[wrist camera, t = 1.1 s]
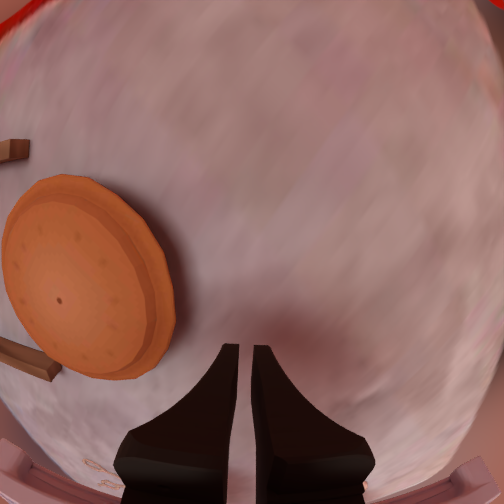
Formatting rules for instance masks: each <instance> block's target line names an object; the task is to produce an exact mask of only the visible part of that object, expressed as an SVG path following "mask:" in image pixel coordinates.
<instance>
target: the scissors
mask: <svg viewBox="0 0 504 504" xmlns="http://www.w3.org/2000/svg"><path fill="white" fill-rule="evenodd" d="M82 461H83V463H84V464H86V465H87V466H88V467H90V468H92V469H94V470H96V471H98V472H105V473H108V474H111V475H113V476H115V477H117V478H119V479H121V478H120V477H119V476H118V475H116V474H115V473H112V472H109V471H107V470H105V469H104V468H103V467H101V466H100V465H98V464H97V463H95V462H93V461H91V460H88V459H83V460H82ZM86 461H88V462H91V463H93V464H95V465H96V466H98V467H99V468H100V469H97V468H95V467H92V466H90V465H89V464H87V463H86ZM104 482H105V483H109V484H112V485H114V486H115V487H111V486H108V485H107V484H105V483H104ZM101 483H102V484H99V483H98V485H99V486H106V487H109V488H111V489H115V490H118V489H119V488H120V487H124V488H125V485H119V484H115V483H112V482H110V481H108V480H102V481H101Z"/></svg>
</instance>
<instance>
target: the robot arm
mask: <svg viewBox="0 0 504 504" xmlns="http://www.w3.org/2000/svg"><path fill="white" fill-rule="evenodd" d="M238 360H239V344H227V343H225V344H223V345H222V348H221V350H220V352H219V354H218V356H217V357H216V359H215V361H214V362H213V364H212V365H211V366H210V368H209V369H208V371H207V372H206V373H205V375H204V376H203V377H202V378H201V380H200V381H199V382H198V383H197V384H196V385H195V386H194V388H193V389H192V390H191V391H190V392H189V393H188V394H186V395H185V396H184V397H183V398H182V399H181V400H180V401H178V402H177V403H176V404H175V405H174V406H172V407H171V408H170V409H168V410H167V411H165V412H164V413H162V414H161V415H159V416H157V417H156V418H154V419H153V420H151V421H149V422H147V423H145V424H143V425H141V426H139V427H137V428H135V429H132V430H130V431H129V432H128V433H127V435H126V436H125V438H124V440H123V441H122V443H121V445H120V447H119V449H118V452H117V455H116V457H115V460H114V464H113V466H114V469H115V471H116V472H117V474H118V475H119V477H120V478H121V480H122V482H123V483H124V485H125V489H124V493H123V496H122V498H119V497H115V496H112V495H109V494H106V493H103V492H100V491H97V490H94V489H92V488H89V487H86V486H84V485H81V484H79V483H76V482H74V481H72V480H69V479H67V478H65V477H62V476H60V475H58V474H56V473H54V472H52V471H50V470H47V469H46V468H44V467H42V466H40V465H38V464H36V463H34V462H33V461H32V459H31V458H30V456H29V455H28V454H27V453H26V452H25V451H24V450H22V449H21V448H19V447H17V446H16V445H14V444H13V443H11V442H9V441H8V440H6V439H5V438H2V440H1V441H0V496H1V497H2V498H3V499H5V500H6V501H7V502H8V503H9V504H226V502H227V479H228V459H229V444H230V436H231V430H232V424H233V418H234V412H235V406H236V400H237V381H238ZM251 405H252V414H253V422H254V431H255V439H256V504H365V502H364V498H363V495H362V494H363V493H364V492H365V488H364V485H363V482H364V480H365V479H366V478H367V477H368V475H369V474H370V473H371V471H372V470H373V468H374V466H375V459H374V456H373V453H372V451H371V449H370V447H369V445H368V443H367V442H366V440H365V438H363V437H361V436H359V435H357V434H355V433H353V432H351V431H349V430H347V429H345V428H344V427H342V426H340V425H339V424H337V423H335V422H334V421H332V420H331V419H329V418H328V417H327V416H325V415H324V414H323V413H322V412H320V411H319V410H318V409H316V408H315V407H314V406H313V405H312V404H311V403H310V402H309V401H308V400H307V399H306V398H305V397H304V396H303V395H302V394H301V393H300V392H299V391H298V390H297V388H296V387H295V386H294V385H293V383H292V382H291V381H290V379H289V378H288V377H287V375H286V374H285V372H284V371H283V369H282V368H281V366H280V365H279V363H278V361H277V360H276V358H275V356H274V354H273V352H272V350H271V348H270V347H269V346H268V345H254V351H253V364H252V376H251ZM500 493H501V491H500V489H499V487H498V485H497V484H496V482H495V480H494V478H493V477H492V475H491V473H490V472H489V470H488V468H487V466H486V465H485V463H484V461H483V460H482V458H481V457H480V456H478V457H476V458H474V459H472V460H470V461H468V462H466V463H464V464H462V465H460V466H459V467H458V468H457V469H455V470H454V471H453V472H452V473H451V475H450V476H449V477H447V478H445V479H443V480H440V481H438V482H436V483H433V484H431V485H428V486H425V487H423V488H420V489H418V490H415V491H412V492H409V493H406V494H403V495H400V496H397V497H393V498H390V499H387V500H383V501H380V502H376V503H372V504H489V503H490V502H492V501H493V500H494V499H495V498H496V497H498V496H499V495H500Z"/></svg>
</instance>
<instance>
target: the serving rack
mask: <svg viewBox="0 0 504 504" xmlns="http://www.w3.org/2000/svg"><path fill="white" fill-rule="evenodd" d="M29 141H30V140H27V139H8V140H5V141H2V142H0V163H3V162H7V161H12V160H17V159H22V158H27V157H29ZM0 361H1V362H3V363H5V364H7V365H10V366H12V367H14V368H16V369H19V370H21V371H23V372H26V373H28V374H31V375H33V376H36V377H38V378H41V379H43V380H46V381H49V382H52V380H53V379H54V378H55V376H56V375H57V374H58V373H59V371H60V370H61V369H62V367H61V364H60V363H58V362H57V361H55V360H53V359H52V358H50V357H48V356H47V355H46V354H45V353H44V352H41V351H38V350H35V349H32V348H29V347H26V346H23V345H21V344H18V343H15V342H13V341H10V340H7V339H5V338H2V337H0Z"/></svg>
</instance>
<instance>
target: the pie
mask: <svg viewBox="0 0 504 504" xmlns="http://www.w3.org/2000/svg"><path fill="white" fill-rule="evenodd" d="M2 270H3V276H4V282H5V287H6V292H7V294H8V297H9V299H10V302H11V304H12V306H13V309H14V311H15V313H16V315H17V317H18V318H19V320H20V322H21V323H22V325H23V326H24V328H25V329H26V331H27V332H28V334H29V335H30V336H31V338H32V339H33V340H34V341H35V342H36V344H37V345H38V346H39V347H40V348H41V349H42V350H43V351H44V352H45V354H46V355H47V356H48V357H50V358H52V359H53V360H55V361H57V362H58V363H60V364H62V365H64V366H66V367H67V368H69V369H71V370H74V371H76V372H79V373H81V374H83V375H86V376H88V377H91V378H97V379H106V380H126V379H136V378H138V377H139V376H141V375H143V374H145V373H146V372H148V371H150V370H151V369H153V368H155V367H156V366H157V364H158V363H159V361H160V360H161V358H162V357H163V355H164V354H165V353H166V351H167V350H168V348H169V344H170V341H171V337H172V334H173V330H174V327H175V323H176V314H175V303H174V290H173V285H172V281H171V278H170V274H169V270H168V266H167V262H166V258H165V254H164V252H163V250H162V248H161V247H160V245H159V244H158V242H157V240H156V239H155V237H154V235H153V234H152V232H151V231H150V229H149V227H148V226H147V224H146V222H145V220H144V219H143V218H142V217H141V216H140V215H139V214H137V213H136V212H135V211H134V210H133V209H132V208H131V207H130V206H129V205H128V204H127V203H126V202H124V201H123V200H122V199H121V198H120V197H119V196H118V195H117V194H115V193H113V192H112V191H110V190H108V189H107V188H105V187H104V186H102V185H100V184H99V183H97V182H96V181H94V180H92V179H91V178H89V177H82V176H74V175H66V174H60V175H56V176H53V177H49V178H46V179H42V180H39V181H38V182H37V183H35V184H34V185H33V186H32V187H31V188H30V189H29V190H28V191H27V192H26V193H25V194H24V195H22V196H21V197H20V199H19V200H18V202H17V203H16V205H15V206H14V208H13V209H12V211H11V212H10V214H9V215H8V218H7V222H6V225H5V229H4V233H3V238H2Z"/></svg>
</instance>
